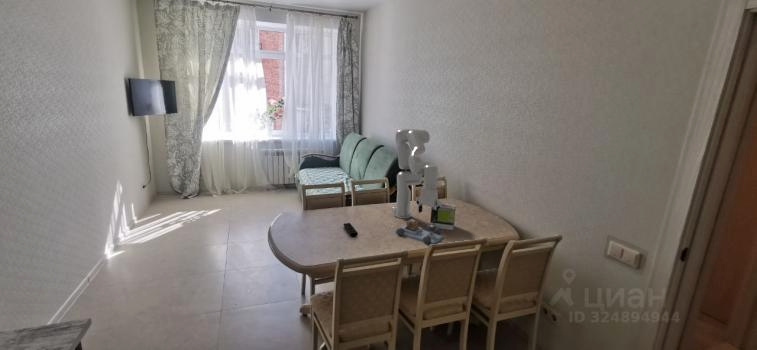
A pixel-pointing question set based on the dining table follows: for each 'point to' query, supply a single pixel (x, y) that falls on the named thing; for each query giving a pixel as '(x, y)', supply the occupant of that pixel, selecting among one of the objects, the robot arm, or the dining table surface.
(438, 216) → the retro computer monitor
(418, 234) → the chassis
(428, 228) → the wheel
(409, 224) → the engine block
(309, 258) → the dining table surface
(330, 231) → the dining table surface
